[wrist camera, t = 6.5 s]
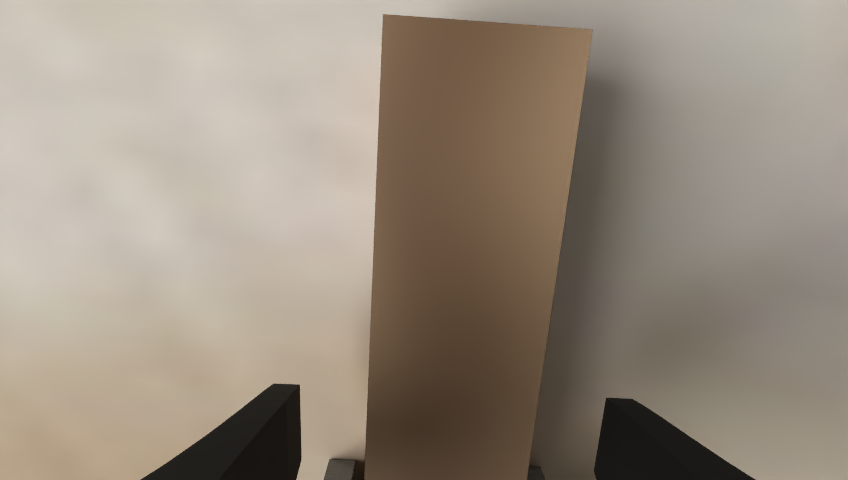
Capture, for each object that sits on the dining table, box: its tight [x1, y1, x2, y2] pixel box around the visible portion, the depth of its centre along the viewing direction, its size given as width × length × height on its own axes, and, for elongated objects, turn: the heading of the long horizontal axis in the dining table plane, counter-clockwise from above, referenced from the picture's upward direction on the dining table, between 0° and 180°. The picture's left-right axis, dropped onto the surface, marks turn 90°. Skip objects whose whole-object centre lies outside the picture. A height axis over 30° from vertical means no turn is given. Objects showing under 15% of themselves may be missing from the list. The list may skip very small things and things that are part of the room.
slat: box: [364, 14, 592, 480], centre depth 11 cm, size 4×14×4 cm, turn 176°
